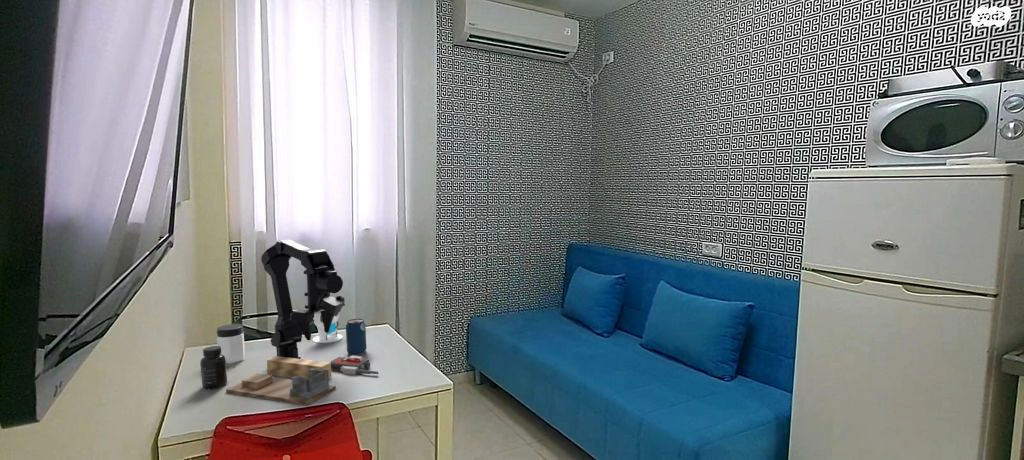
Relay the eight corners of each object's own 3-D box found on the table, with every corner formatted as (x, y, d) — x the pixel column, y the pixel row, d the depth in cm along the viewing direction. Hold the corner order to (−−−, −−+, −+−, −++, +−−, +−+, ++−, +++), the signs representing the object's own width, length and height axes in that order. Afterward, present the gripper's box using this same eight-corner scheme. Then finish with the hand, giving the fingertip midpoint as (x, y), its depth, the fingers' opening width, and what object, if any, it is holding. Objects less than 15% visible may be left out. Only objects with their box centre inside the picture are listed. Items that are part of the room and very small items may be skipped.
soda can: (370, 351, 190) (369, 319, 189) (355, 357, 184) (354, 324, 183) (357, 348, 194) (356, 317, 193) (342, 353, 188) (341, 321, 187)
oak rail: (267, 374, 168) (266, 359, 168) (276, 370, 172) (276, 356, 172) (323, 382, 161) (322, 366, 161) (331, 377, 165) (330, 362, 165)
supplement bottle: (208, 382, 162) (206, 344, 161) (231, 381, 162) (229, 344, 161) (197, 390, 155) (194, 351, 154) (221, 389, 156) (218, 351, 155)
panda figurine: (328, 344, 199) (326, 306, 198) (305, 341, 203) (303, 304, 202) (348, 336, 210) (347, 300, 209) (326, 333, 214) (324, 298, 213)
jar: (220, 357, 185) (218, 325, 184) (245, 354, 188) (244, 322, 187) (217, 365, 177) (214, 331, 176) (243, 362, 180) (241, 328, 179)
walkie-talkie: (322, 373, 170) (376, 378, 164) (322, 360, 169) (376, 365, 164) (338, 364, 178) (390, 369, 173) (337, 351, 178) (389, 356, 172)
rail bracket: (226, 392, 153) (224, 371, 153) (258, 378, 165) (256, 358, 164) (307, 405, 144) (306, 382, 143) (335, 389, 155) (334, 368, 154)
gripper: (318, 297, 155) (320, 347, 156) (355, 284, 172) (356, 330, 174) (288, 294, 158) (290, 343, 160) (327, 282, 176) (328, 327, 177)
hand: (318, 335), depth 168 cm, fingers open, 9 cm apart
